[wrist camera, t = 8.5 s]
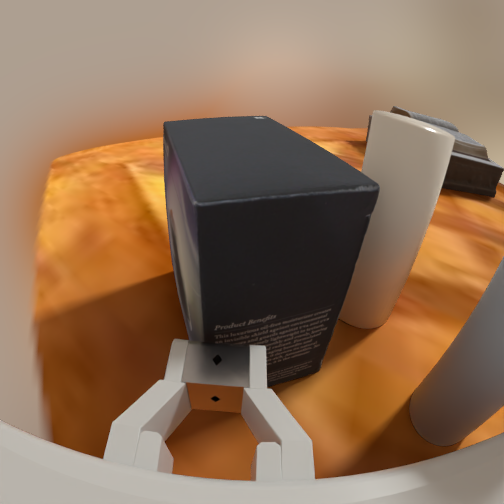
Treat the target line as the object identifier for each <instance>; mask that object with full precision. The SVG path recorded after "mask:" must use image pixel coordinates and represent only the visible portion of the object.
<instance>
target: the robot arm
mask: <svg viewBox="0 0 504 504" xmlns="http://www.w3.org/2000/svg"><path fill="white" fill-rule="evenodd" d="M191 409H199V410H213V411H224V412H235V413H241V415H242V417H243V418H244V420H245V422H246V423H247V425H248V427H249V428H250V430H251V431H252V433H253V435H254V436H255V438H256V440H257V441H258V443H259V445H258V446H257V448H256V451H255V454H254V458H253V461H252V464H251V481H241V480H223V479H211V478H200V477H192V476H184V475H177V474H172V470H173V461H174V459H173V457H172V455H171V453H170V451H169V450H168V448H167V446H166V444H165V441H166V439H167V438H168V437H169V436H170V435H171V434H172V433H173V431H174V430H175V429H176V428H177V427H178V425H179V424H180V423H181V422H182V421H183V420H184V418H185V417H186V416H187V415H188V414H189V412H190V411H191ZM0 504H504V432H503V433H501V434H499V435H496V436H494V437H492V438H489V439H487V440H484V441H482V442H479V443H477V444H474V445H471V446H469V447H466V448H463V449H460V450H457V451H454V452H451V453H448V454H445V455H442V456H438V457H435V458H431V459H428V460H424V461H420V462H417V463H413V464H409V465H404V466H400V467H395V468H391V469H386V470H381V471H375V472H369V473H363V474H357V475H350V476H342V477H333V478H323V479H315V472H314V460H313V448H312V440H311V439H310V438H309V436H308V435H307V434H306V433H305V431H304V430H303V429H302V428H301V426H300V425H299V424H298V423H297V421H296V420H295V419H294V417H293V416H292V415H291V414H290V412H289V411H288V410H287V408H286V407H285V406H284V405H283V403H282V402H281V401H280V399H279V398H278V397H277V395H276V394H275V393H274V391H273V390H272V389H267V366H266V347H265V346H264V345H250V346H249V344H229V343H209V342H200V341H191V340H182V339H174V340H173V342H172V346H171V350H170V354H169V359H168V363H167V367H166V372H165V376H164V380H158V381H157V382H156V383H155V384H154V385H153V386H152V387H151V388H150V389H149V390H148V391H146V392H145V393H144V394H143V395H142V396H141V397H140V398H139V399H138V400H137V401H136V402H134V403H133V404H132V405H131V406H130V407H129V408H128V409H127V410H126V411H124V412H123V413H122V414H121V415H120V416H119V417H118V418H117V419H116V420H114V421H113V422H112V426H111V429H110V433H109V437H108V441H107V445H106V449H105V453H104V458H103V459H101V458H97V457H94V456H91V455H87V454H84V453H81V452H78V451H75V450H72V449H69V448H66V447H63V446H60V445H58V444H55V443H52V442H50V441H47V440H44V439H42V438H40V437H37V436H35V435H32V434H30V433H28V432H25V431H23V430H20V429H19V428H17V427H14V426H12V425H10V424H8V423H6V422H4V421H2V420H0Z"/></svg>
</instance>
